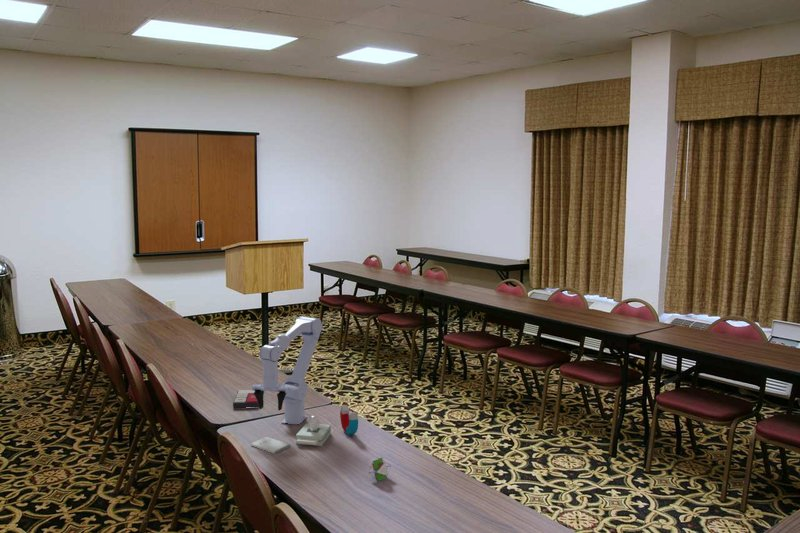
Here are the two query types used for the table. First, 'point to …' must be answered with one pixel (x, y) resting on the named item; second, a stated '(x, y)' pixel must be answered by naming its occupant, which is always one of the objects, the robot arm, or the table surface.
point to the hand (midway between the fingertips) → (270, 408)
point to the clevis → (313, 435)
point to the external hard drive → (270, 445)
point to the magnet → (348, 420)
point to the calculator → (245, 399)
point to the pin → (313, 423)
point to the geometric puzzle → (379, 469)
